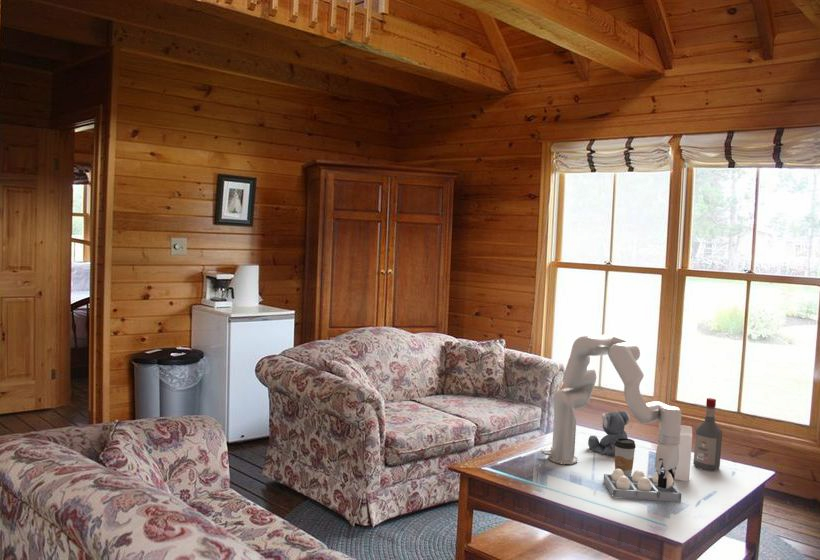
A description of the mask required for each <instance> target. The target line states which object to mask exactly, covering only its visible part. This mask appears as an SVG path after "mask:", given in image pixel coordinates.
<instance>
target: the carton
mask: <svg viewBox="0 0 820 560" xmlns="http://www.w3.org/2000/svg"><path fill="white" fill-rule="evenodd" d="M603 483H604V484H605V487H606V488H607V489H609V490H608V491H609V493H610V492H611V493H610V494H611V496H612V495H613V496H612V498H613V497H622V498H621V499H628V498H635V499H634V500H644V499H648V500H647V501H663V502H665V501H666V502H682V496H683V495H682V493H681V492H680V491H679V489H678V488H677V487H676V486H675V484H674V485H672V486H671V487H669V488H666V489H664V488H661V487H658V474H657V472H656V471H655V472H654V475H653V476H646V475H645V473H644V471H642V470H641V469H636V470H634V472H633V474H631V476H628V475H624V473H623V471H622V470H621V469H615V468H614V470H613V472H612V473H610V474H609V473H608V474H607V473H603Z"/></svg>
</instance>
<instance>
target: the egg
mask: <svg viewBox="0 0 820 560" xmlns="http://www.w3.org/2000/svg"><path fill="white" fill-rule="evenodd" d="M662 472H663V474H664V471H662ZM666 478H667V485H666V488H669V487H671V486H672V485H673V483H674V484H675V479H674V480H673V477H672V475H671V473H670V472H667V475H666Z"/></svg>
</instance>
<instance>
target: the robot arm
mask: <svg viewBox="0 0 820 560" xmlns="http://www.w3.org/2000/svg"><path fill="white" fill-rule="evenodd" d="M605 355H606V356H607V355H608V358H609V360H610V362H611V364H612V366H613V367H614V369H615V371H616V372H617V374H618V376H619V377H620V379H621V381H622V383H623V386H624V388H623V393H624V394H623V395H624V400H625V403H626V405H627V407H628V409H629V411H630V413H631V414H632V416H633V418H635V420H637V422H638V423H641V424H644V425H646V424H651V423H654V422H659V425H658V426H659V427H658V443H657V447H656V451H655V458H654V459H655V460H654V468H655V473H656V472H657V474H658V487H661V488H664V489H666V485H667V478H666V475H667V472H670V473H671V475H672V477H673V480H674V481H675V470H676V467H677V466H678V461H679V443H680V428H681V425H682V410H681V408H679V407H678V406H675V405H674V406H673V405H669V404H666V403H663V402H661V401H657V400H655V401H649V402H646V401H645V400H644V398H643V396H642V394H641V391H640V384H641V382H642V380H643V379H644V372H643V371H642V369H641V367H640V366H639V364H638V363H637V361H638V360H639V359H640V356H641V352H640V348H639V346H638V345H637V344H636V343H634V342H633V341H630V340H628V339H625V338H622V337H619V336H615V335H612V334H608V333H607V334H595V335H584V336H583V335H582V336H579V337H578V338H576V339H575V340H574V342H573V344H572V347H571V350H570V354H569V357H568V361H567V364H566V367H565V369H564V373H563V376H562V382H563V385H564V386H565V387H564V388H561V389H558V390H557V391H556V392H554V394H553V397H552V406H553V429H552V430H553V431H552V444H551V445H552V446H551V447H550V448H548V449H545V448H543V449H542V448H541V450H540V453H541V454H542V455H544V456H547V459H548V458H549V459H550V460H552V461H554V462H557V463H556V464H558V463H562V464H561V465H565V464H570V465H574V463H575V464H577V463H578V462H577V461H579V459H578V457H576V456H575V451H576V436H577V435H576V433H577V418H576V414H575V410H578V409H582V408H585V407H586V406H587V405H588V404H589V402H590V400H591V397H592V393H593V391H594V388H595V386H596V385H595V384H596V383H597V372H596V370H595V368H594V367H593V366H592V365H590V361H591V357H597V356H605ZM549 459H548V460H549ZM550 460H549V461H550ZM552 461H551V462H552ZM554 462H553V463H554ZM576 462H577V463H576ZM663 472H664V474H663ZM673 485H674V486H675V482H674V483H673Z"/></svg>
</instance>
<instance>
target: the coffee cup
mask: <svg viewBox="0 0 820 560" xmlns="http://www.w3.org/2000/svg"><path fill="white" fill-rule="evenodd" d="M614 445H615V456H614V470H615V469H621V470H622V471H623V473H624V475H628V476H632V472H633V467H634V466H633V465H634V461H635V460H634V459H635V458H634V456H635V452H636V442H635V440H633V439H632V438H617V439H616V441H615V444H614Z"/></svg>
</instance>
